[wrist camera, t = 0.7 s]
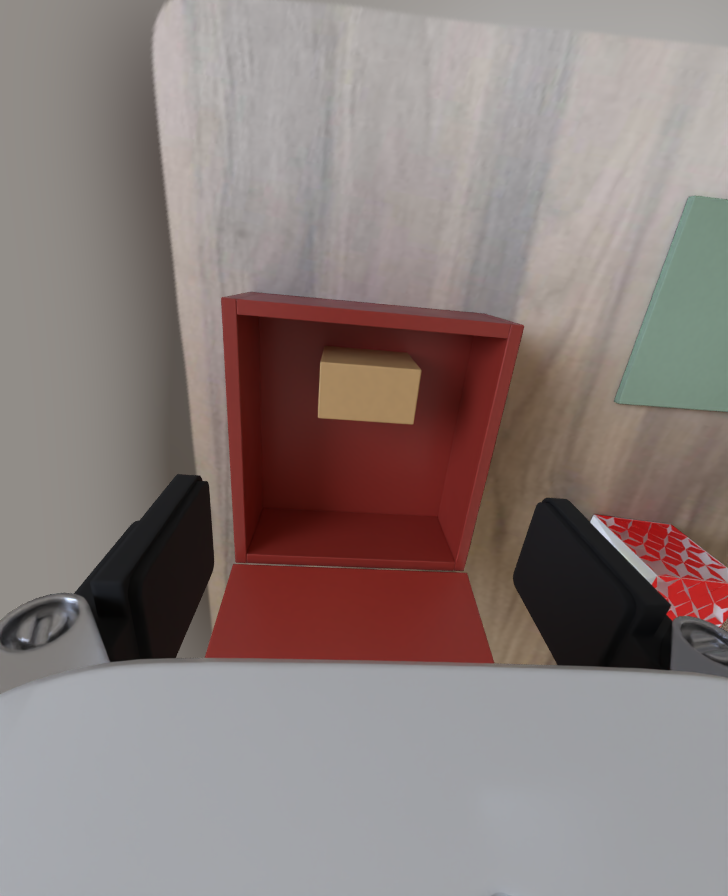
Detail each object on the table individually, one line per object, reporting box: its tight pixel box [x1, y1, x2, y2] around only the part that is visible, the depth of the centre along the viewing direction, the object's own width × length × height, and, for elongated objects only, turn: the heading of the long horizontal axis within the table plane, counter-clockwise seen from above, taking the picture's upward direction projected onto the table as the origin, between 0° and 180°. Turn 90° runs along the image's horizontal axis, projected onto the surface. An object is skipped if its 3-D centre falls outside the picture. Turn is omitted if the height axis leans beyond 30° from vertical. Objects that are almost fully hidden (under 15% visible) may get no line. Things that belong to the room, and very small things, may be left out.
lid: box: [205, 564, 494, 663], centre depth 21 cm, size 18×17×5 cm
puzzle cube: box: [590, 515, 728, 627], centre depth 34 cm, size 8×8×8 cm
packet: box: [318, 346, 422, 425], centre depth 26 cm, size 4×6×6 cm, turn 85°
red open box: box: [221, 292, 524, 571], centre depth 28 cm, size 18×17×7 cm
